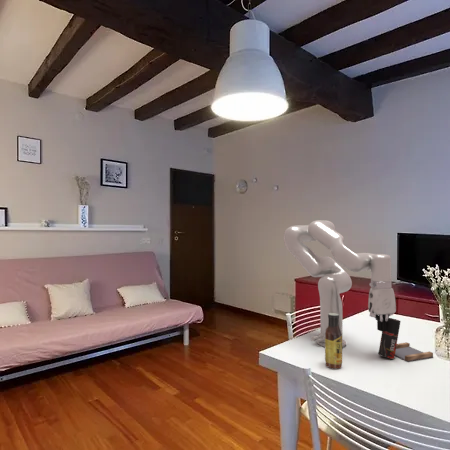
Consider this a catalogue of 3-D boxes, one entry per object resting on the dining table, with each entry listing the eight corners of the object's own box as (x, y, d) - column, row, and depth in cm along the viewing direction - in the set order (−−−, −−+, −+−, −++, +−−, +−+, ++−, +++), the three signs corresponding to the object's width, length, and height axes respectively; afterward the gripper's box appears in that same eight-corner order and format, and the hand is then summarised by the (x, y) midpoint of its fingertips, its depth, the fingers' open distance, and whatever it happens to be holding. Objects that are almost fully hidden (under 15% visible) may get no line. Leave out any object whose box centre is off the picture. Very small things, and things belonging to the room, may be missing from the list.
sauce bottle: (340, 371, 128) (339, 317, 128) (323, 367, 131) (322, 315, 131) (344, 364, 133) (343, 313, 133) (327, 361, 137) (327, 311, 136)
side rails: (407, 362, 135) (407, 357, 135) (383, 350, 148) (382, 345, 148) (433, 357, 139) (433, 352, 139) (406, 346, 152) (406, 342, 152)
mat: (407, 362, 135) (407, 360, 135) (383, 350, 148) (383, 349, 148) (433, 357, 139) (433, 356, 139) (406, 346, 152) (406, 345, 152)
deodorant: (387, 358, 136) (394, 320, 137) (375, 352, 141) (381, 316, 142) (397, 358, 139) (403, 321, 140) (384, 353, 144) (390, 317, 145)
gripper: (372, 287, 133) (373, 335, 133) (403, 285, 138) (404, 331, 138) (359, 284, 140) (360, 329, 140) (389, 282, 145) (389, 326, 145)
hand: (381, 330), depth 139 cm, fingers closed
